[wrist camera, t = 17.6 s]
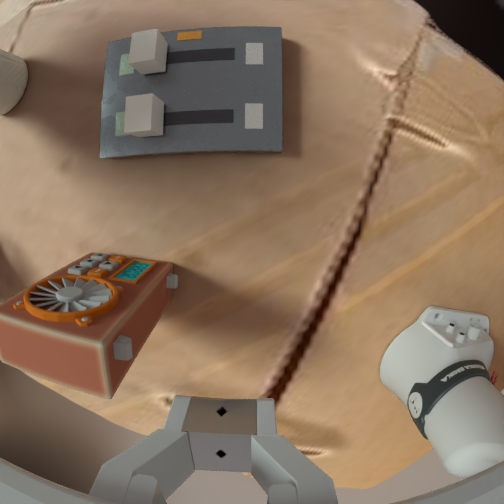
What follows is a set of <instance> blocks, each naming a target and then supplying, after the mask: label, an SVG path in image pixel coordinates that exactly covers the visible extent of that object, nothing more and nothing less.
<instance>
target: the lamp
mask: <svg viewBox="0 0 504 504" xmlns="http://www.w3.org/2000/svg"><path fill="white" fill-rule="evenodd" d="M27 81H28V71H27V65H26V63H25V62H24V61H23V59H22V58H20V57H19V56H16V55H14V54H11V53H9V52H6V51H4V50H1V49H0V115H3V114H5V113H7V112H9V111H10V110H11V109H12V108H13V107H14V106H16V105H17V103H18V102H19V101H20V99H21V97H22V95H23V94H24V90H25V87H26V86H27Z"/></svg>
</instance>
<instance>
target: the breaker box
mask: <svg viewBox="0 0 504 504" xmlns="http://www.w3.org/2000/svg"><path fill="white" fill-rule="evenodd" d="M161 34H162V36H163V37H164V38H165V40H166V41H167V43H168V45H167V56H166V70H165V72H157V73H149V74H140V73H139V72H138V71H137V70H136V69H135V68H133V67H132V66H131V65H130V64H129V53H130V45H131V38H126V39H122V40H117V41H112V42H109V43H108V50H107V58H106V66H105V75H104V85H103V97H102V111H101V131H100V158H105V159H114V158H125V157H136V156H150V155H165V154H185V153H218V152H266V153H280V152H282V32H281V27H214V28H199V29H188V30H178V31H170V32H162V33H161ZM150 93H153V94H154V95H155V96H157V97H158V98H159V99H161V100H162V101H163V102H164V117H163V135H159V136H147V137H136V136H133V135H130V134H127V133H124V126H125V105H126V97H128V96H135V95H142V94H150Z"/></svg>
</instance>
